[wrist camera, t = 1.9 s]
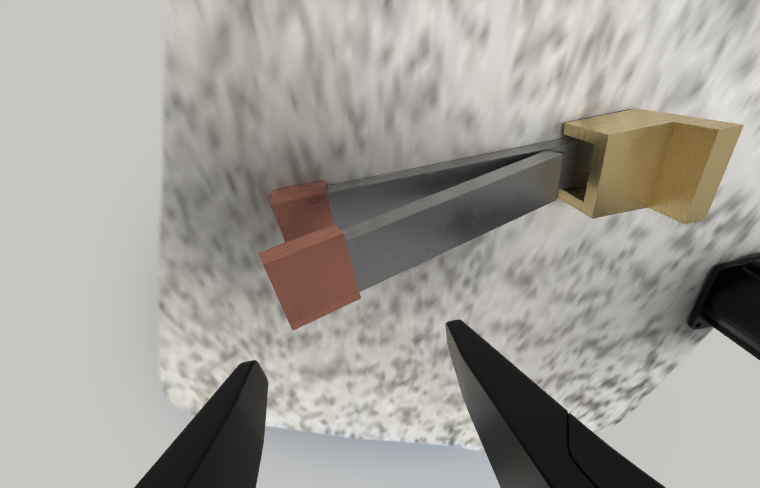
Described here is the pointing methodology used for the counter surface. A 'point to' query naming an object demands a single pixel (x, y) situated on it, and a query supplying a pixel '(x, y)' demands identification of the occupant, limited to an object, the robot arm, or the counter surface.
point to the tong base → (407, 187)
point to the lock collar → (651, 163)
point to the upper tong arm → (403, 237)
